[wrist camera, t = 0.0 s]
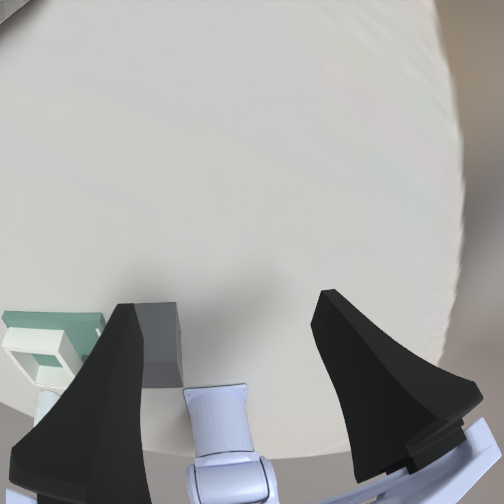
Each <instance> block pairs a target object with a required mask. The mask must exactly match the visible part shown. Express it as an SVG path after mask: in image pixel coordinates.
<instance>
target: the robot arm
mask: <svg viewBox="0 0 504 504" xmlns="http://www.w3.org/2000/svg"><path fill="white" fill-rule="evenodd" d="M310 325H311V329H312V332H313V336H314V339H315V343H316V346H317V348H318V351H319V353H320V356H321V358H322V360H323V363H324V365H325V367H326V369H327V372H328V374H329V376H330V379H331V381H332V383H333V385H334V388H335V390H336V393H337V396H338V398H339V402H340V405H341V409H342V412H343V416H344V420H345V424H346V428H347V432H348V436H349V441H350V447H351V452H352V459H353V466H354V476H355V478H356V481H357V483H361V482H363V481H366V480H368V479H371V478H373V477H375V476H378V475H380V474H382V473H384V472H386V474H387V476H386V477H383V478H381V479H379V480H376V481H374V482H372V483H370V484H367V485H365V486H362V487H360V488H357V489H355V490H352V491H349V492H347V493H344V494H341V495H338V496H335V497H332V498H329V499H326V500H323V501H319V502H316V503H313V504H358V503H361V502H363V501H366V500H368V499H370V498H373V497H375V496H377V495H378V496H377V499H376V500H375V501H373V502H370V503H367V504H455V503H456V502H457V501H458V500H459V499H460V498H461V497H462V496H463V495H464V494H465V493H466V492H467V491H468V490H469V489H470V488H471V487H472V486H473V485H474V484H475V483H476V482H477V480H478V479H479V478H480V477H481V476H482V475H483V474H484V473H485V472H486V471H487V470H488V469H489V468H490V467H491V466H492V465H493V464H494V463H495V462H496V461H497V460H498V459H499V458H500V457H501V452H500V450H499V448H498V446H497V444H496V442H495V440H494V438H493V436H492V434H491V432H490V430H489V428H488V426H487V424H486V422H485V420H484V418H483V417H481V418H480V419H478V420H477V421H476V422H474V423H473V424H472V425H470V426H469V427H468V428H466V429H465V430H462V428H461V426H462V425H464V422H463V420H462V417H464V416H465V415H466V414H467V413H469V412H470V411H471V410H472V409H473V408H474V407H476V406H477V405H478V404H479V403H480V402H481V401H482V400H483V396H482V394H481V392H480V390H479V389H478V387H477V385H476V383H475V382H473V381H470V380H467V379H464V378H462V377H459V376H456V375H454V374H451V373H449V372H447V371H445V370H442V369H440V368H438V367H436V366H434V365H433V364H431V363H429V362H427V361H425V360H424V359H422V358H420V357H418V356H417V355H415V354H414V353H412V352H411V351H409V350H408V349H406V348H405V347H403V346H402V345H400V344H399V343H398V342H396V341H395V340H393V339H392V338H391V337H390V336H388V335H387V334H386V333H385V332H383V331H382V330H381V329H380V328H378V327H377V326H376V325H375V324H374V323H373V322H371V321H370V320H369V319H368V318H367V317H366V316H365V315H363V314H362V313H361V312H360V311H359V310H358V309H357V308H356V307H354V306H353V305H352V304H351V303H350V302H349V301H348V300H347V299H346V298H344V297H343V296H342V295H341V294H340V293H339V292H338V291H336V290H335V289H331V290H322V291H321V293H320V296H319V299H318V303H317V306H316V309H315V312H314V315H313V318H312V321H311V324H310ZM143 367H144V337H143V334H142V331H141V328H140V324H139V321H138V317H137V314H136V310H135V307H134V303H129V304H118V305H117V306H116V307H115V309H114V311H113V313H112V315H111V317H110V319H109V321H108V322H107V324H106V326H105V328H104V330H103V332H102V333H101V335H100V337H99V339H98V340H97V342H96V344H95V346H94V347H93V349H92V351H91V353H90V354H89V356H88V357H87V359H86V361H85V362H84V364H83V365H82V367H81V369H80V370H79V372H78V373H77V375H76V376H75V378H74V379H73V381H72V382H71V383H70V385H69V386H68V388H67V389H66V390H65V392H64V393H63V394H62V396H61V397H60V398H59V399H58V401H57V402H56V403H55V404H54V406H53V407H52V408H51V409H50V410H49V412H48V413H47V414H46V415H45V416H44V417H43V418H42V419H41V420H40V421H39V422H38V424H37V425H36V426H35V427H34V428H33V429H32V430H31V431H30V432H29V433H28V434H27V435H26V436H24V437H23V438H22V439H21V440H20V441H19V442H18V443H17V444H16V445H15V446H14V447H12V450H11V457H10V471H9V480H10V482H11V483H13V484H15V485H17V486H20V487H22V488H24V489H27V490H30V491H32V492H35V493H37V499H35V498H32V497H29V496H27V495H24V494H21V493H19V492H16V491H14V490H11V489H9V488H7V489H6V504H152V503H151V498H150V494H149V489H148V484H147V479H146V473H145V467H144V461H143V451H142V442H141V429H140V404H141V390H142V378H143ZM247 389H248V387H247V385H246V384H241V385H232V386H222V387H210V388H196V389H185V390H184V396H185V400H186V403H187V407H188V410H189V414H190V417H191V422H192V431H193V440H194V448H195V455H196V458H194V461H195V464H190V465H189V466H188V467H187V468H186V482H187V489H188V494H189V498H190V501H191V504H251V503H257V502H262V503H261V504H279V499H278V494H277V482H276V478H275V473H274V470H273V467H272V465H271V463H270V461H269V460H268V459H266V458H265V457H264V456H261V457H259V455H258V452H257V451H256V452H255V450H254V446H253V442H252V437H251V433H250V428H249V424H248V419H247V415H246V410H245V403H246V396H247Z"/></svg>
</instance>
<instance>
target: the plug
mask: <svg viewBox="0 0 504 504" xmlns="http://www.w3.org/2000/svg"><path fill="white" fill-rule="evenodd" d="M134 307H135V310H136V314H137V317H138V321H139V324H140V328H141V331H142V334H143V337H144V367H143V378H142V388H178V387H183V373H182V354H181V331H180V325H179V319H178V312H177V305H176V302H165V303H140V304H134Z"/></svg>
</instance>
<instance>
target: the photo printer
mask: <svg viewBox="0 0 504 504" xmlns="http://www.w3.org/2000/svg"><path fill="white" fill-rule="evenodd" d="M59 398H60V395H59V394H57V393H55V392H52V391H49V390H43V391H41V392H40V395H39V399H38V404H37V409H36V415H35V421H34V427H35V426H36V425H37V424H38V422H39V421H40V420H41V419H42V418H43V417H44V416H45V415H46V414H47V413H48V412H49V410H50V409H51V408H52V407H53V406H54V404H55V403H56V402H57V401H58V399H59ZM34 427H33V428H34Z"/></svg>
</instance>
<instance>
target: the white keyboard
mask: <svg viewBox="0 0 504 504" xmlns="http://www.w3.org/2000/svg"><path fill="white" fill-rule="evenodd" d="M29 1H30V0H0V24H1V23H2V22H4V21H5V20H6V19H7V18H8V17H9V16H11V15H12V14H13V13H14V12H16V11H17V10H18V9H19V8H21V7H22V6H23V5H25V4H26V3H27V2H29Z"/></svg>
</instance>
